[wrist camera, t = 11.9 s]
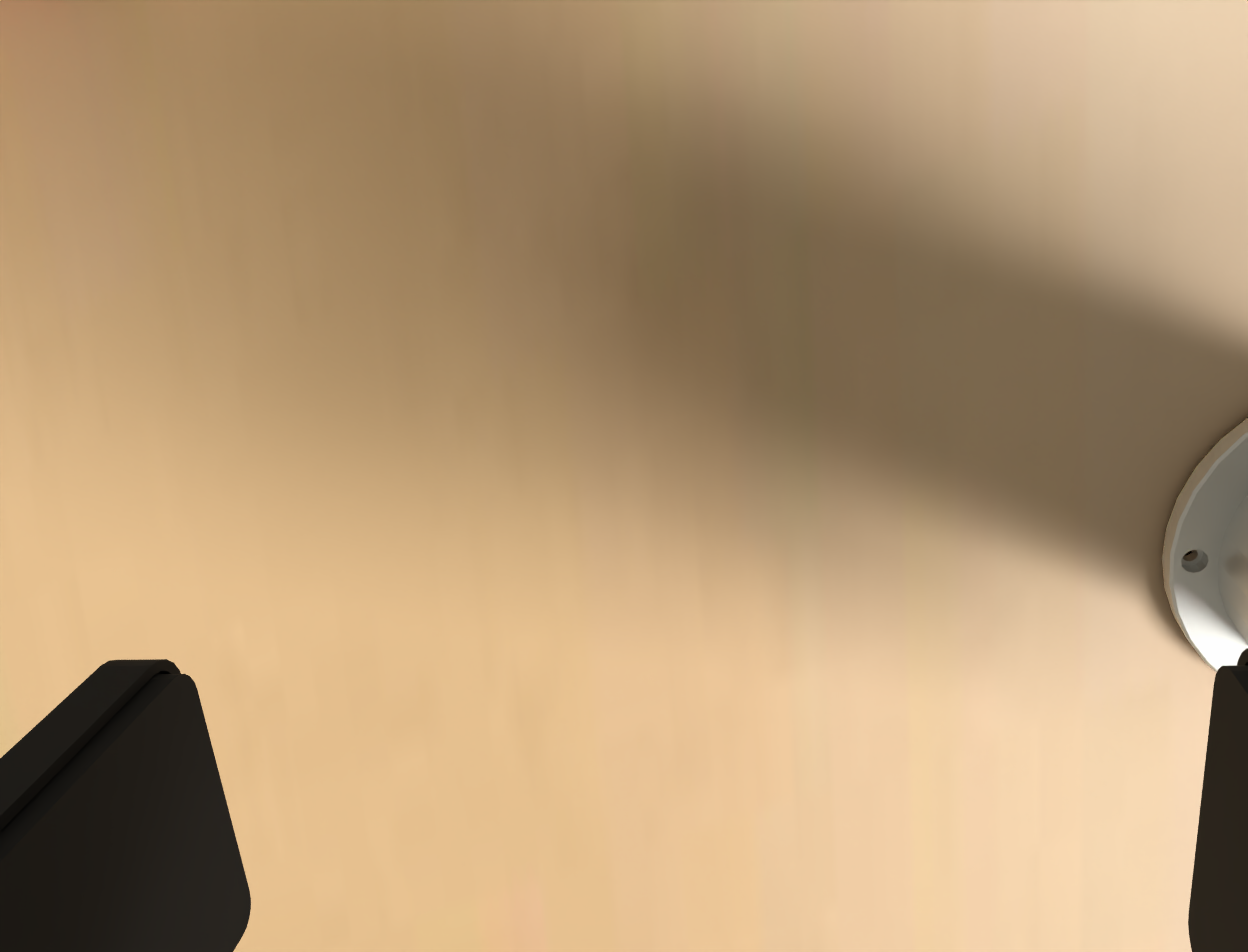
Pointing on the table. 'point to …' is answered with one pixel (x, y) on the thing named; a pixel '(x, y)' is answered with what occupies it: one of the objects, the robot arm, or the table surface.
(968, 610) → the table surface
